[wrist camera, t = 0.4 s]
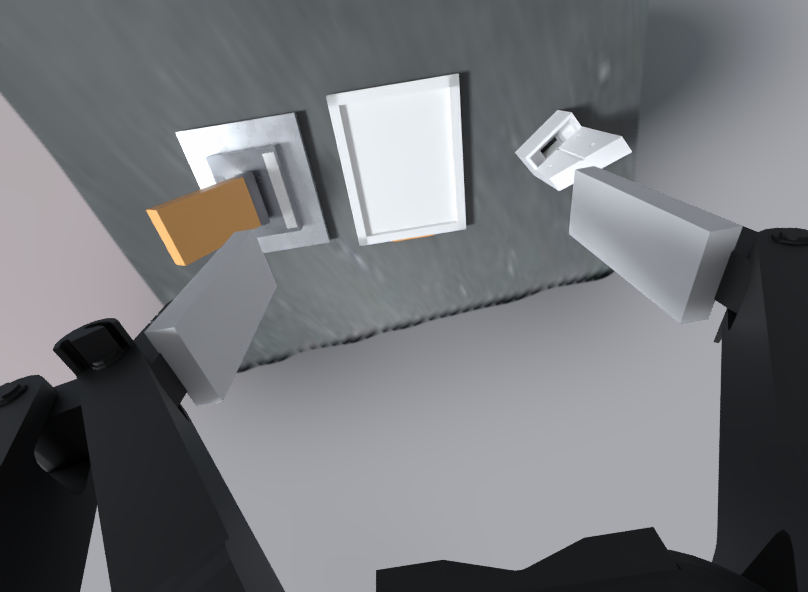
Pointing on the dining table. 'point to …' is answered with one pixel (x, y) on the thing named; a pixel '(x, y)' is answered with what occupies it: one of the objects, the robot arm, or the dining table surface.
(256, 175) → the panel
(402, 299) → the dining table surface
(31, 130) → the dining table surface
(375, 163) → the tray
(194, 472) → the robot arm
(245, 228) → the block
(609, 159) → the white wedge bracket
